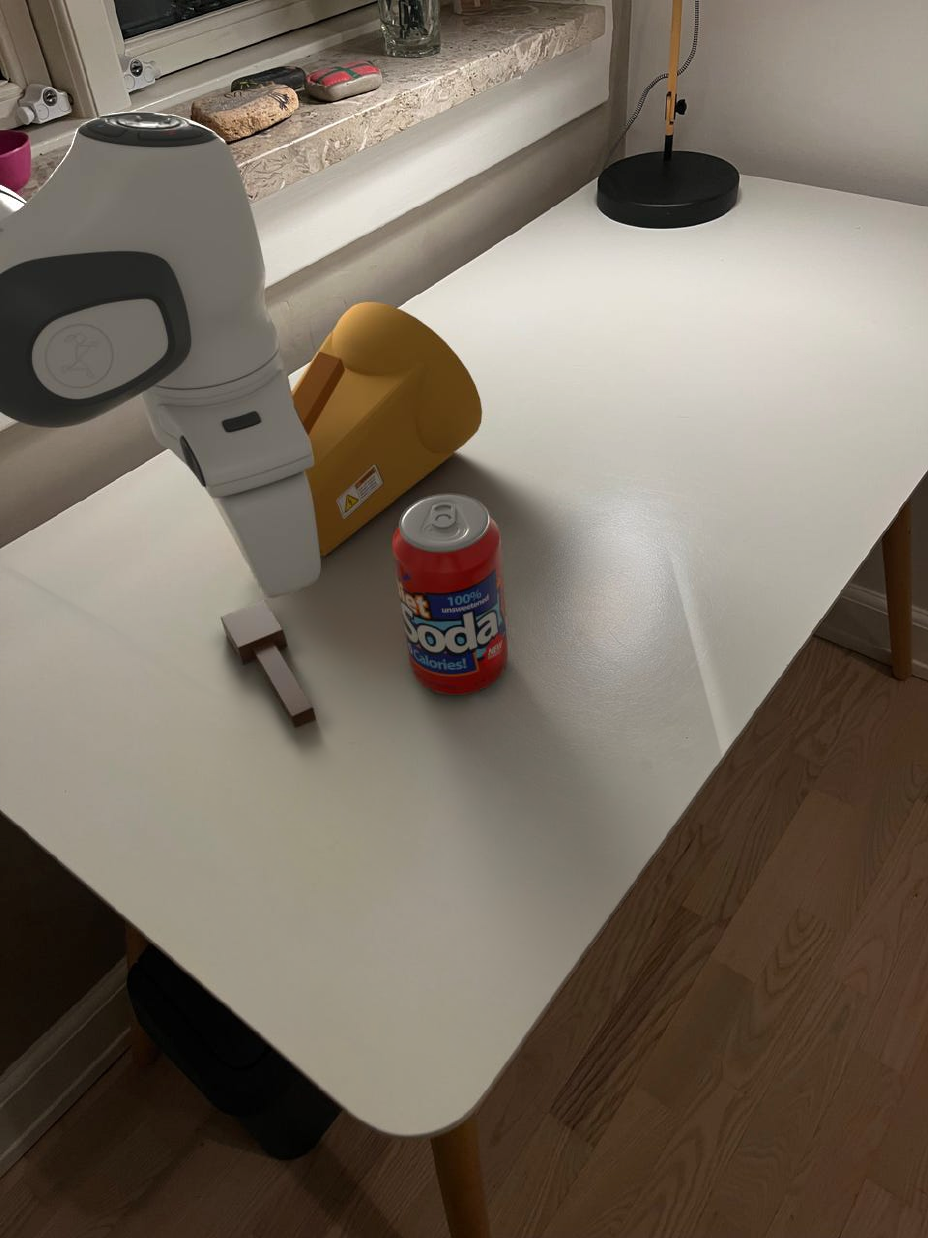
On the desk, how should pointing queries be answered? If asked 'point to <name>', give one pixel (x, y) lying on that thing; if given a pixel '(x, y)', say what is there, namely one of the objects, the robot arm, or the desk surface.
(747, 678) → the desk surface
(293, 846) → the desk surface
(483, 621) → the soda can
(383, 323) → the flared yellow plastic housing
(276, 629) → the wooden mallet
